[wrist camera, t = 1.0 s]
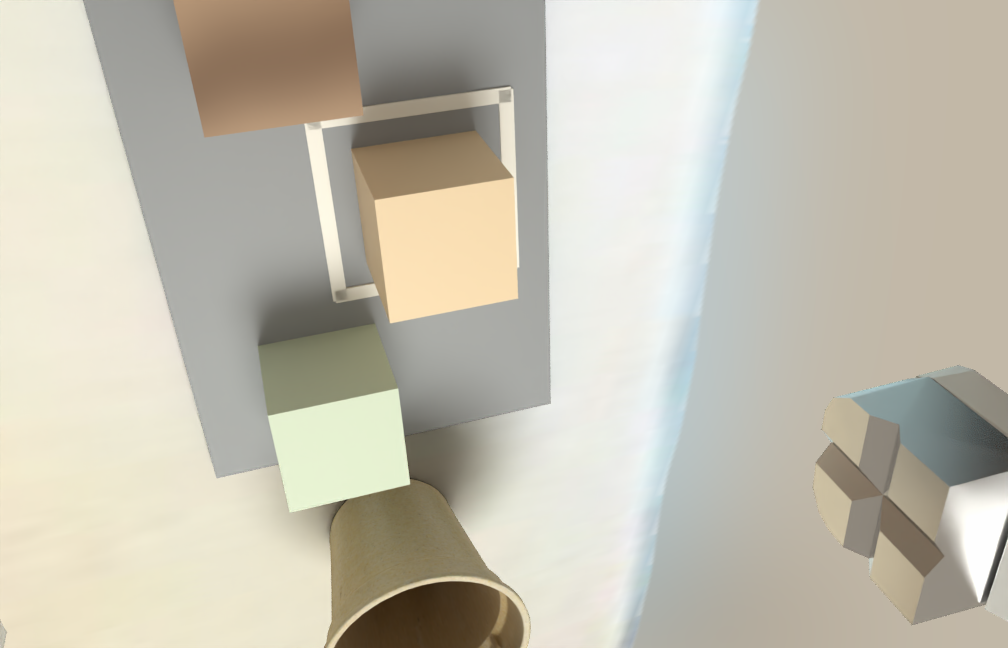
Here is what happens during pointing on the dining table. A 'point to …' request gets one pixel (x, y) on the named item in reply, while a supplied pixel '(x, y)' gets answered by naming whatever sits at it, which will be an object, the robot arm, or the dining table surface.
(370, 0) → the building board
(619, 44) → the dining table surface
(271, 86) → the walnut block
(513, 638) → the flower pot
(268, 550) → the dining table surface
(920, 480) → the robot arm
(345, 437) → the sage block
